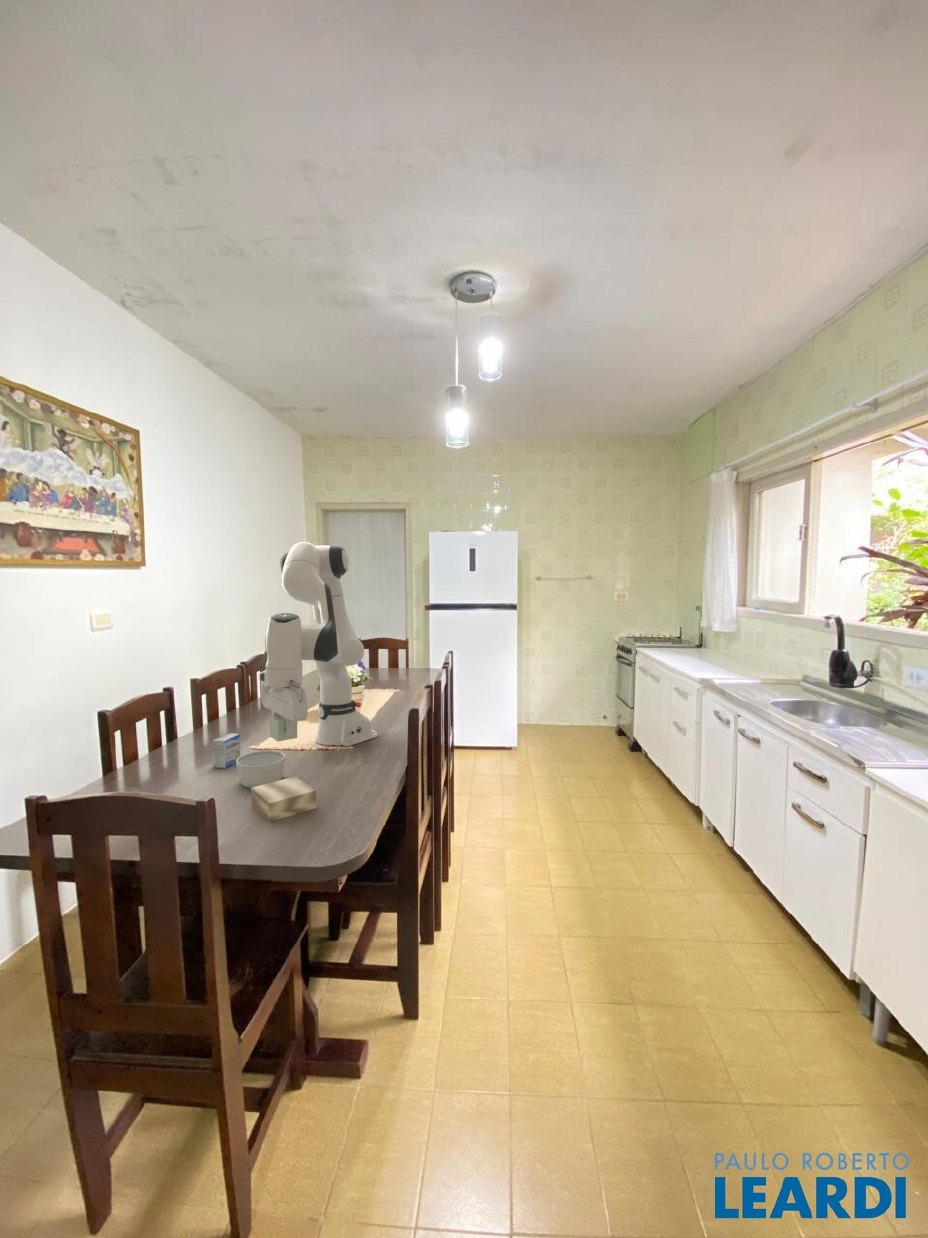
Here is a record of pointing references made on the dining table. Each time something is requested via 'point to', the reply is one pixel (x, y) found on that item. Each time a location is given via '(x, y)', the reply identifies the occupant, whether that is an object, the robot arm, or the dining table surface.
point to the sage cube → (280, 729)
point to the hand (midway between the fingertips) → (283, 730)
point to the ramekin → (260, 767)
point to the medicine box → (225, 750)
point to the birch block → (283, 798)
